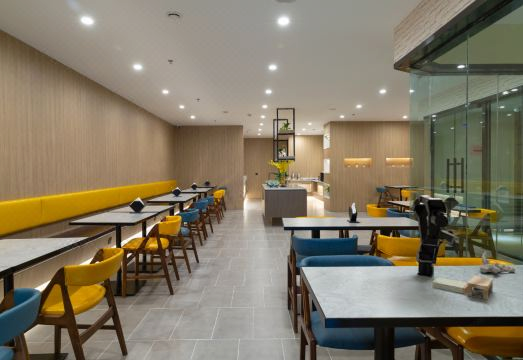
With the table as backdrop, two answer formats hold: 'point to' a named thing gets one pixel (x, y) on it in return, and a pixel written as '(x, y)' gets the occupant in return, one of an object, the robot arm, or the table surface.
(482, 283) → the wooden block
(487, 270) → the anatomical model
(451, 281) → the cream rectangular block
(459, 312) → the table surface
